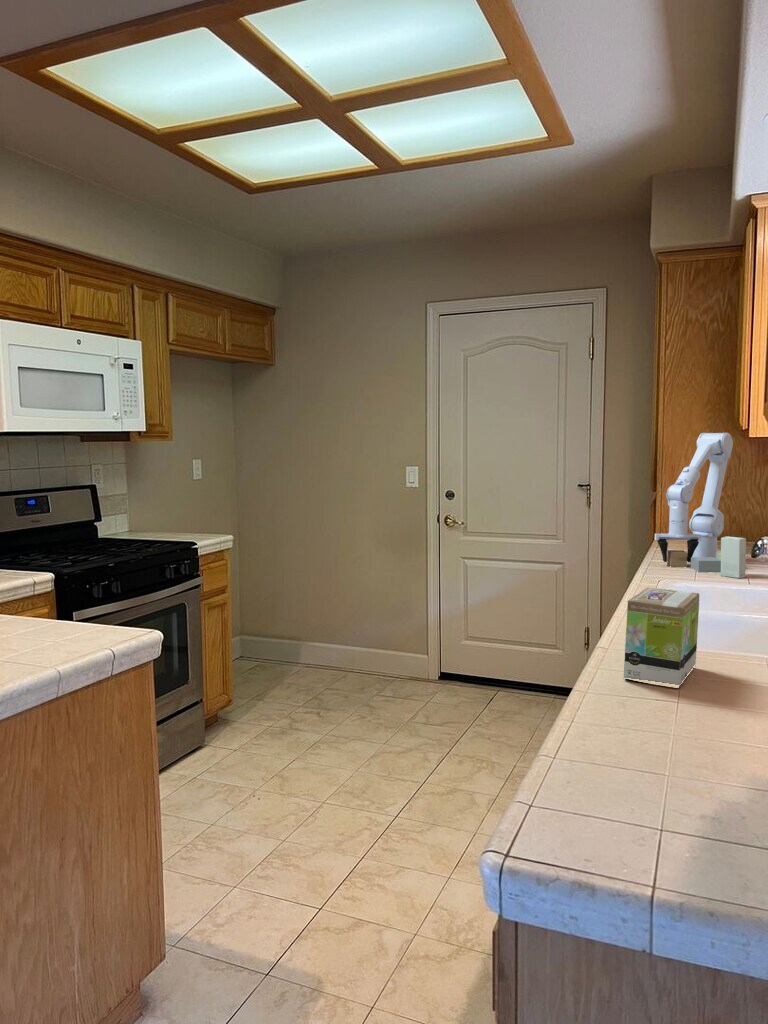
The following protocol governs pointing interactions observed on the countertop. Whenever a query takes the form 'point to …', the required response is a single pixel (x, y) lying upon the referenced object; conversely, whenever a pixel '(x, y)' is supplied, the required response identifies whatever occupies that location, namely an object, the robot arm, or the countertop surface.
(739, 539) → the skincare box
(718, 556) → the sage cube
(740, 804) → the countertop surface
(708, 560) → the slate block
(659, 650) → the tea box
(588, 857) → the countertop surface
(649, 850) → the countertop surface
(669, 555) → the walnut cube
